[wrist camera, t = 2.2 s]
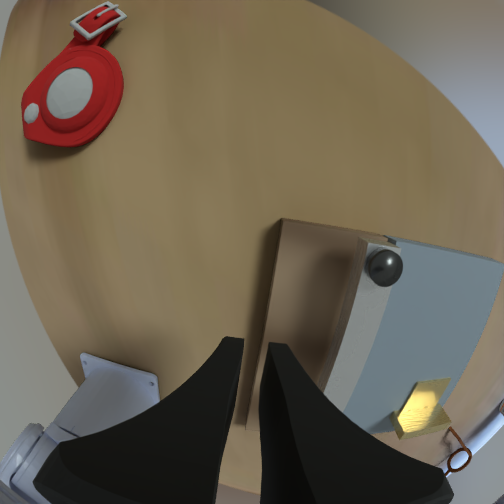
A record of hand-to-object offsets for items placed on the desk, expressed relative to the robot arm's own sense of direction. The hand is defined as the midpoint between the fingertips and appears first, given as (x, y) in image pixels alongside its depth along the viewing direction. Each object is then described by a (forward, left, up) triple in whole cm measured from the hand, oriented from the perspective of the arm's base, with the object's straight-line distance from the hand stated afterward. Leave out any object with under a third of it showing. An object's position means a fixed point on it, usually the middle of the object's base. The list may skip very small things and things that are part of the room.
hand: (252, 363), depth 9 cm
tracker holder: (+13, +15, -10) cm, 22 cm away
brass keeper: (-9, -17, -7) cm, 21 cm away
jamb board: (-5, -4, -9) cm, 12 cm away
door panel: (-5, -15, -9) cm, 18 cm away
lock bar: (-3, -6, -6) cm, 9 cm away
